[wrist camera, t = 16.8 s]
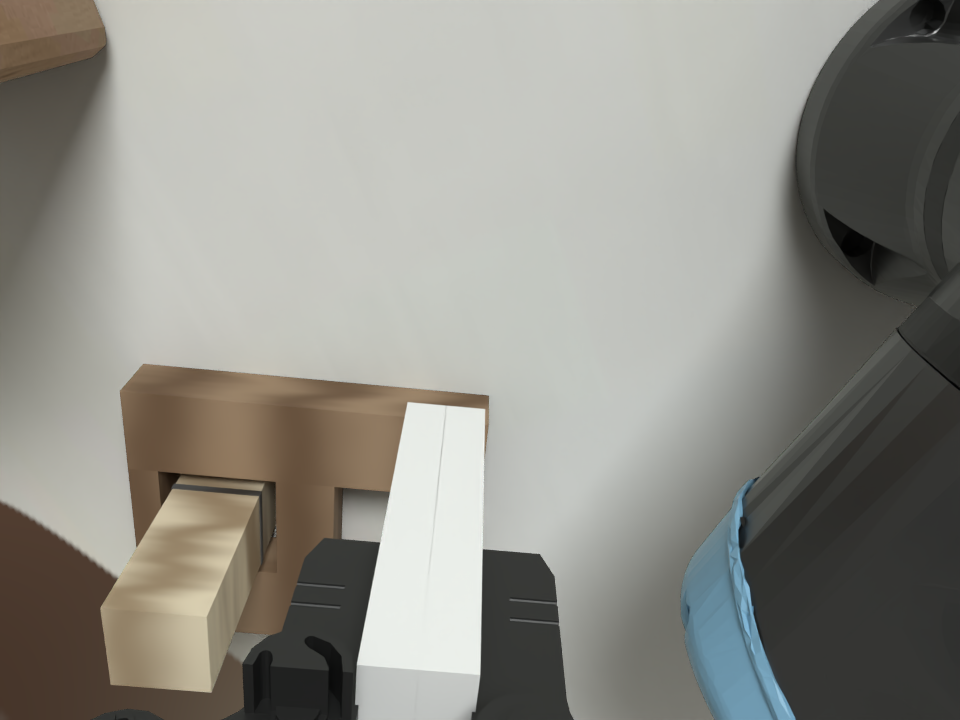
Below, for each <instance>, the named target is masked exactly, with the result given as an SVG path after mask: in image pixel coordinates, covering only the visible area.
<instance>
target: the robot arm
mask: <svg viewBox="0 0 960 720" xmlns="http://www.w3.org/2000/svg"><path fill="white" fill-rule="evenodd" d="M796 170H797V182H798V188H799V194H800V198H801V202H802V205H803V208H804V211H805V214H806V216H807V219H808V221H809V223H810V225H811V227H812V229H813V231H814V233H815V234H816V236H817V237H818V239H819V240H820V242H821V243H822V244H823V246H824V247H825V248H826V249H827V251H828V252H829V253H830V254H831V255H832V256H833V257H834V258H835V259H836V260H837V261H839V262H840V263H841V264H842V265H843V266H844V267H846V268H847V269H848V270H849V271H850V272H851V273H853V274H854V275H855V276H856V277H857V278H858V279H860V280H861V281H863V282H864V283H865V284H867V285H868V286H870V287H872V288H874V289H875V290H877V291H879V292H881V293H883V294H885V295H888V296H890V297H892V298H895V299H897V300H900V301H903V302H906V303H910V304H913V305H918V306H919V307H918V308H917V309H916V310H915V311H914V312H913V313H912V314H911V315H910V316H909V317H908V318H907V320H906V321H905V322H904V323H903V324H902V325H901V326H900V327H898V328H896V330H895V331H894V332H893V333H892V334H891V335H890V336H889V337H888V338H887V340H886V341H885V342H884V343H883V344H882V345H881V346H880V347H879V348H878V350H877V351H876V352H875V353H874V354H873V355H872V356H871V357H870V358H869V359H868V361H867V362H866V363H865V364H864V365H863V366H862V367H861V368H860V369H859V371H858V372H857V373H856V374H855V375H854V376H853V377H852V378H851V379H850V381H849V382H848V383H847V384H846V385H845V386H844V387H843V388H842V389H841V391H840V392H839V393H838V394H837V395H836V396H835V397H834V398H833V399H832V401H831V402H830V403H829V404H828V405H827V406H826V407H825V408H824V409H823V410H822V411H821V413H820V414H819V415H818V416H817V417H816V418H815V419H814V420H813V421H812V422H811V423H810V424H809V425H808V426H807V427H806V428H805V430H804V431H803V432H802V433H801V434H800V435H799V436H798V437H797V438H796V439H795V440H794V441H793V442H792V443H791V444H790V446H789V447H788V448H787V449H786V450H785V451H784V452H783V453H782V454H781V455H780V456H779V457H778V458H777V459H776V460H775V462H774V463H773V464H772V465H771V466H770V467H769V468H768V469H767V470H766V471H765V472H764V473H763V474H762V475H761V476H760V477H758V478H755V479H752V480H748V481H747V482H746V483H745V484H744V486H743V487H741V489H740V490H739V491H738V492H737V494H736V496H735V498H734V500H733V504H732V508H731V509H730V511H729V512H728V513H727V514H726V515H725V517H724V518H723V519H722V520H721V522H720V523H719V524H718V525H717V526H716V528H715V529H714V530H713V531H712V533H711V534H710V535H709V536H708V537H707V539H706V540H705V541H704V542H703V544H702V545H701V546H700V547H699V548H698V550H697V551H696V552H695V554H694V555H693V557H692V559H691V560H690V562H689V564H688V567H687V569H686V572H685V575H684V579H683V583H682V588H681V618H682V621H683V625H684V628H685V631H686V632H685V645H686V650H687V653H688V657H689V660H690V663H691V666H692V669H693V672H694V675H695V678H696V680H697V683H698V685H699V688H700V690H701V692H702V695H703V697H704V699H705V701H706V703H707V706H708V708H709V710H710V712H711V714H712V716H713V718H714V719H715V720H960V0H879V1H878V2H877V3H876V4H875V5H873V6H872V7H871V8H870V9H869V10H868V11H867V12H866V13H865V14H864V15H863V16H862V17H861V18H860V19H859V20H858V21H857V22H856V23H855V24H854V25H853V27H852V28H851V29H850V30H849V31H848V32H847V34H846V35H845V36H844V37H843V39H842V40H841V41H840V42H839V44H838V45H837V47H836V48H835V49H834V51H833V52H832V54H831V55H830V57H829V59H828V60H827V62H826V63H825V65H824V67H823V69H822V70H821V72H820V74H819V76H818V78H817V80H816V82H815V84H814V87H813V89H812V91H811V94H810V96H809V99H808V102H807V104H806V107H805V111H804V114H803V117H802V121H801V126H800V130H799V137H798V143H797V156H796ZM484 444H485V409H478V408H467V407H456V406H445V405H434V404H423V403H412V402H408V403H407V408H406V413H405V418H404V423H403V428H402V434H401V439H400V444H399V449H398V454H397V459H396V465H395V470H394V475H393V480H392V485H391V490H390V496H389V501H388V506H387V511H386V516H385V521H384V527H383V532H382V537H381V542H380V543H379V542H367V541H355V540H344V539H332V538H323V539H322V541H321V542H320V543H319V544H318V545H317V546H316V547H315V548H314V549H313V550H312V551H311V552H310V553H309V554H308V555H307V556H306V557H305V558H304V562H303V565H302V568H301V571H300V574H299V578H298V581H297V586H296V587H295V590H294V593H293V597H292V600H291V605H290V606H289V609H288V612H287V616H286V619H285V622H284V625H283V628H282V631H281V632H279V633H276V634H273V635H270V636H268V637H267V638H265V639H264V640H263V641H261V642H260V643H259V644H257V645H256V646H255V647H253V648H252V649H251V651H250V653H249V654H248V656H247V657H246V659H245V661H244V662H243V664H242V665H243V689H244V708H242V709H241V710H240V711H238V712H236V713H234V714H232V715H230V716H229V717H227V718H225V719H222V720H574V719H573V717H572V715H571V714H570V711H569V707H568V703H567V698H566V688H565V678H564V668H563V658H562V648H561V638H560V628H559V617H558V607H557V597H556V587H555V577H554V575H553V574H552V572H551V571H550V569H549V568H548V566H547V565H546V563H545V561H544V560H543V558H542V557H541V555H540V554H531V553H520V552H508V551H496V550H485V549H483V499H484ZM92 720H163V719H162V718H160V717H158V716H156V715H154V714H152V713H151V712H149V711H142V710H133V709H124V710H120V711H114V712H109V713H104V714H102V715H100V716H98V717H96V718H94V719H92Z"/></svg>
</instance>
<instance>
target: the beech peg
mask: <svg viewBox="0 0 960 720" xmlns="http://www.w3.org/2000/svg"><path fill="white" fill-rule="evenodd" d="M171 489H172V490H171V492H170V494H169V495H168V497H167V499H166V500H165V502H164V504H163V505H162V507H161V509H160V510H159V512H158V514H157V515H156V517H155V519H154V520H153V522H152V524H151V525H150V527H149V529H148V530H147V532H146V534H145V535H144V537H143V538H142V540H141V542H140V543H139V545H138V547H137V548H136V550H135V552H134V553H133V555H132V557H131V558H130V560H129V562H128V563H127V565H126V567H125V568H124V570H123V572H122V573H121V575H120V577H119V578H118V580H117V582H116V583H115V585H114V587H113V588H112V590H111V591H110V593H109V595H108V596H107V598H106V600H105V602H104V603H103V605H102V606H101V608H100V609H101V615H102V623H103V630H104V638H105V645H106V652H107V660H108V667H109V674H110V681H111V685H123V686H136V687H148V688H160V689H174V690H185V691H198V692H212V690H213V687H214V685H215V682H216V679H217V677H218V674H219V672H220V669H221V666H222V664H223V661H224V659H225V656H226V653H227V651H228V648H229V646H230V643H231V640H232V638H233V635H234V633H235V630H236V627H237V625H238V622H239V619H240V617H241V614H242V612H243V609H244V606H245V604H246V601H247V599H248V596H249V593H250V591H251V588H252V586H253V583H254V580H255V578H256V575H257V572H258V570H259V567H260V565H262V563H263V560H264V558H263V557H264V554H265V552H266V549H267V546H268V544H269V541H270V538H271V536H272V533H273V531H274V528H275V525H276V509H275V482H272V481H261V480H250V479H238V478H227V477H216V476H204V475H193V474H181V476H180V477H179V479H178V481H177V482H176V484H175V483H174V485H173V486H172V488H171Z"/></svg>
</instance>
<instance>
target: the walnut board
mask: <svg viewBox="0 0 960 720" xmlns="http://www.w3.org/2000/svg"><path fill="white" fill-rule="evenodd" d="M120 397H121V407H122V416H123V425H124V435H125V444H126V453H127V463H128V472H129V481H130V491H131V500H132V509H133V518H134V528H135V537H136V546H137V547H138V545H139V543H140V542H141V540H142V538H143V537H144V535H145V534H146V532H147V530H148V529H149V527H150V525H151V524H152V522H153V520H154V519H155V517H156V515H157V514H158V512H159V510H160V509H161V507H162V505H163V504H164V502H165V500H166V499H167V497H168V495H169V494H170V492H171V490H172V489H171V488H172V486H173V485H174V483H175V484H176V482H177V481H178V479H179V477H180V476H181V474H193V475H204V476H216V477H227V478H238V479H250V480H261V481H272V482H276V535H277V537H271V538H270V541H269V544H268V546H267V549H266V552H265V554H264V557H263V558H264V560H263V563H262V565H260V567H259V570H258V572H257V575H256V578H255V580H254V583H253V586H252V588H251V591H250V593H249V596H248V599H247V601H246V604H245V606H244V609H243V612H242V614H241V617H240V619H239V622H238V625H237V627H236V630H235V632H243V633H255V634H267V635H273V634H276V633H279V632H281V631H282V628H283V625H284V622H285V619H286V616H287V612H288V609H289V606H290V605H291V600H292V597H293V593H294V590H295V587H296V586H297V581H298V578H299V574H300V571H301V568H302V565H303V562H304V558H305V557H306V556H307V555H308V554H309V553H310V552H311V551H312V550H313V549H314V548H315V547H316V546H317V545H318V544H319V543H320V542H321V541H322V539H323V538H332V539H341V537H342V502H343V488H352V489H363V490H374V491H386V492H390V490H391V485H392V480H393V475H394V470H395V465H396V459H397V454H398V449H399V444H400V439H401V434H402V428H403V423H404V418H405V413H406V408H407V403H408V402H412V403H423V404H434V405H445V406H456V407H467V408H478V409H485V444H484V459H485V451H486V442H487V434H488V425H489V396H486V395H476V394H465V393H454V392H443V391H432V390H421V389H410V388H399V387H388V386H378V385H367V384H356V383H345V382H334V381H323V380H312V379H301V378H290V377H280V376H269V375H258V374H247V373H236V372H225V371H214V370H203V369H192V368H182V367H171V366H160V365H149V364H143V365H142V366H141V367H140V368H139V370H138V371H137V372H136V373H135V374H134V375H133V377H132V378H131V379H130V380H129V381H128V382H127V384H126V385H125V386H124V387H123V388H122V389H121V390H120ZM180 473H181V474H180Z"/></svg>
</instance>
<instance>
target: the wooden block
mask: <svg viewBox="0 0 960 720" xmlns="http://www.w3.org/2000/svg"><path fill="white" fill-rule="evenodd" d="M105 44H106V35H105V27H104V25H103V22H102V20H101V17H100V15H99V13H98V10H97V8H96V5H95V3H94V0H0V83H2V82H5V81H9V80H12V79H16V78H20V77H23V76H27V75H31V74H34V73H38V72H41V71H45V70H49V69H52V68H56V67H60V66H63V65H67V64H70V63H74V62H78V61H81V60H85V59H88V58H92V57H94V56H95V55H96V54H97V53H98V52H99V51H100V50H101V49H102V48H103V47H104V46H105Z"/></svg>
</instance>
